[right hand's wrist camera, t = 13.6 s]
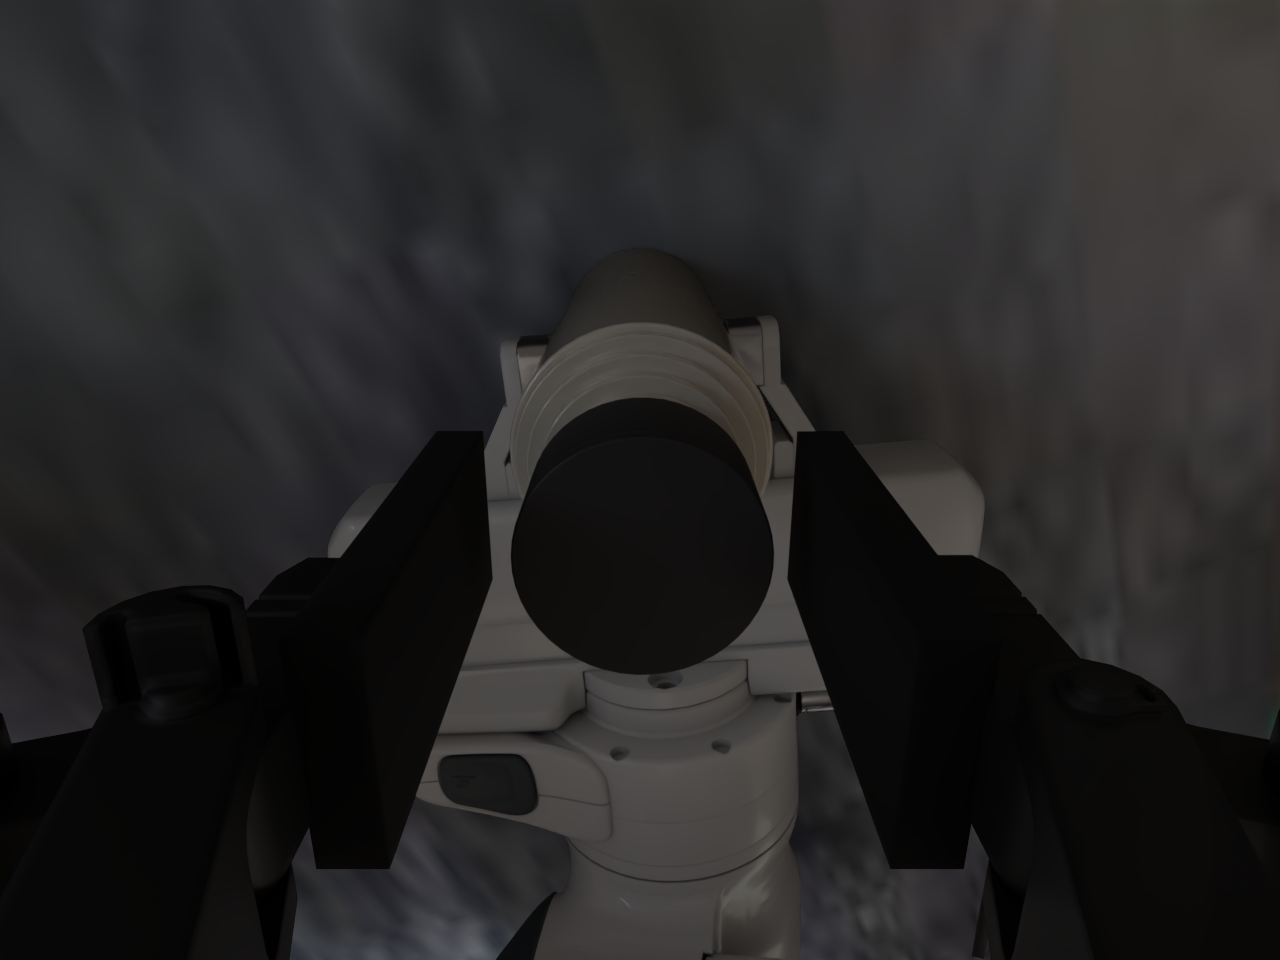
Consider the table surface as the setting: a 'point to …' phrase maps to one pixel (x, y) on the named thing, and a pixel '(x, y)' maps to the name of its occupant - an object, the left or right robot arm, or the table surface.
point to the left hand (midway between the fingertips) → (636, 329)
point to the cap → (642, 539)
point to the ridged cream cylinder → (640, 360)
